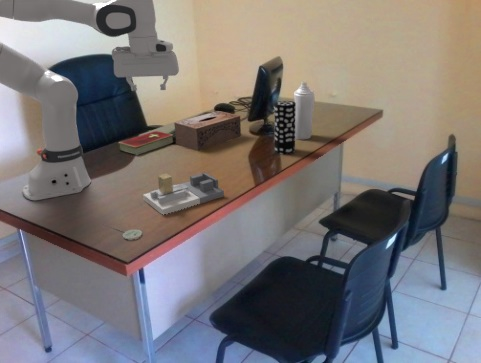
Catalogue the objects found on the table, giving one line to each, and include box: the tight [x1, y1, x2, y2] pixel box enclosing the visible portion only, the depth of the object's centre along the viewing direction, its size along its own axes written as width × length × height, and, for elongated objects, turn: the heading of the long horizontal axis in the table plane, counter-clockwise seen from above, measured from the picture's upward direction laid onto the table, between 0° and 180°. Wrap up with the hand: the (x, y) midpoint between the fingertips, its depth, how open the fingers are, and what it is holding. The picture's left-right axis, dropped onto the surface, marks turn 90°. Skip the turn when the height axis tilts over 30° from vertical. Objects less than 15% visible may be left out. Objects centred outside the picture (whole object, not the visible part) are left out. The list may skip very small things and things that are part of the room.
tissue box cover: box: [174, 110, 242, 152], centre depth 206 cm, size 26×14×10 cm, turn 135°
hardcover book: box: [118, 130, 174, 156], centre depth 202 cm, size 12×21×4 cm, turn 140°
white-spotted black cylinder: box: [274, 100, 296, 156], centre depth 187 cm, size 8×8×20 cm
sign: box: [102, 223, 143, 240], centre depth 132 cm, size 5×1×15 cm
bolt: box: [155, 173, 189, 199], centre depth 147 cm, size 10×4×7 cm, turn 126°
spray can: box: [293, 81, 316, 140], centre depth 203 cm, size 12×11×25 cm
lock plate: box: [142, 172, 225, 216], centre depth 151 cm, size 22×14×5 cm, turn 126°
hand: (148, 90), depth 150 cm, fingers open, 8 cm apart
